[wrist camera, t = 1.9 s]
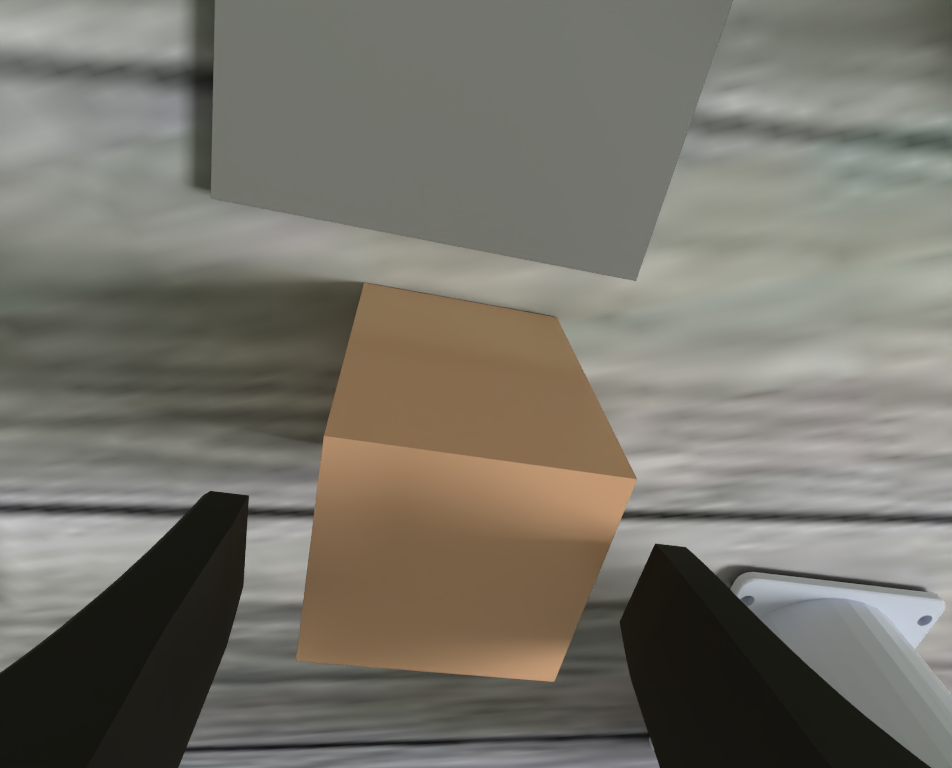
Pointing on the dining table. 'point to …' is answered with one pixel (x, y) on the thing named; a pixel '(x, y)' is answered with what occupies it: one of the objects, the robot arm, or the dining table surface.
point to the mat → (463, 117)
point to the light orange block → (458, 493)
